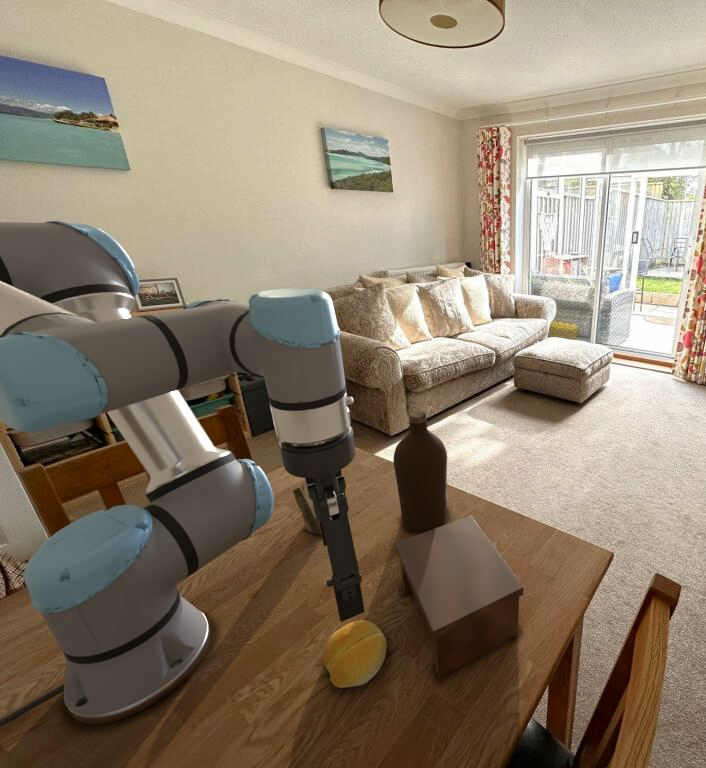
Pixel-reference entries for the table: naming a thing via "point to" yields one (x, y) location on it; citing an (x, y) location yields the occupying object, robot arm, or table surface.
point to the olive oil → (421, 476)
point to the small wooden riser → (460, 591)
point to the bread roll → (354, 654)
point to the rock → (307, 509)
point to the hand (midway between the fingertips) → (342, 574)
